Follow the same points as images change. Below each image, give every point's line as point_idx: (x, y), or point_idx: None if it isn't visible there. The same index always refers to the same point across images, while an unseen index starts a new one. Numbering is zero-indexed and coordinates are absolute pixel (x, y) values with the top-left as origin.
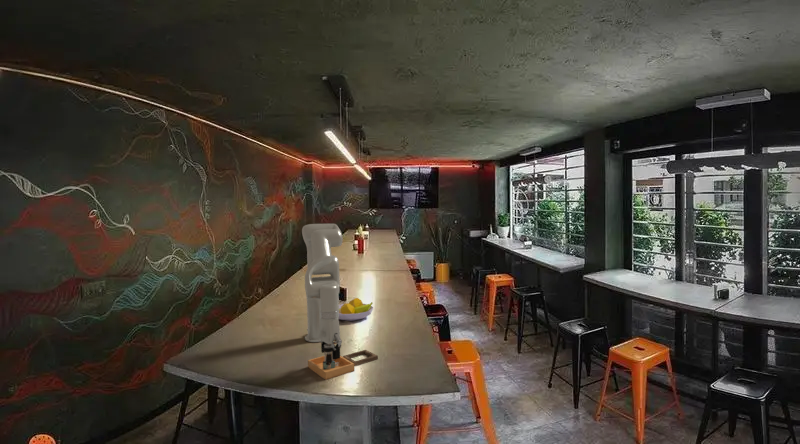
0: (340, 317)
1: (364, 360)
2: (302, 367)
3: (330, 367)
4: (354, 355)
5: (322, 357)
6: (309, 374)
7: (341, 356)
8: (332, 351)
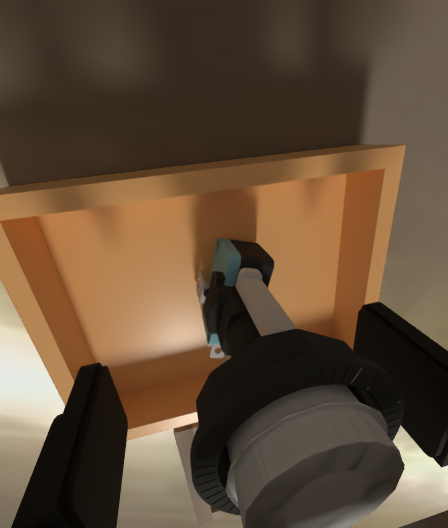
0: None
1: (185, 473)
2: (387, 98)
3: (198, 288)
4: None
5: (364, 283)
6: (214, 94)
7: None
8: (59, 473)
